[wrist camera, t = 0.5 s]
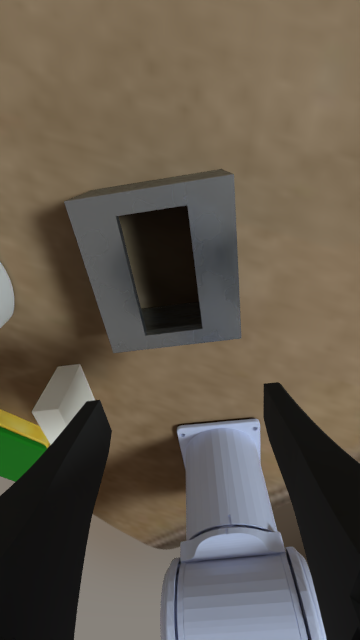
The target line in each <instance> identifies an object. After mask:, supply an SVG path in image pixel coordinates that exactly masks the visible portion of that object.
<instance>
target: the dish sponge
mask: <svg viewBox="0 0 360 640" xmlns="http://www.w3.org/2000/svg"><path fill="white" fill-rule="evenodd" d="M49 444H50V443H49V441H48V439H47V438H46V436H45V434H44V432H43V431H42V429H41V427H40V426H38V425H36V424H33V423H31V422H29V421H26V420H24V419H22V418H19V417H17V416H15V415H12V414H10V413H8V412H5V411H3V410H1V409H0V476H1V477H4V478H7V479H9V480H12V481H15V482H16V481H17V480H18V479H19V478H20V477H21V476H22V475H23V474H24V473H25V472H26V471H27V470H28V469H29V468H30V467H31V466H32V465H33V464H34V463H35V462H36V461H37V460H38V459H39V458H40V457H41V455H42V454H43V453H44V452H45V451H46V450H47V447H48V446H49Z"/></svg>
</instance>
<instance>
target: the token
mask: <svg viewBox="0 0 360 640" xmlns="http://www.w3.org/2000/svg"><path fill="white" fill-rule="evenodd" d="M94 400H95V399H94V397H93V394H92V392H91V389H90V387H89V384H88V382H87V379H86V377H85V375H84V372H83V370H82V367H81V365H80V364H76V365H67V366H58V367H57V369H56V370H55V372H54V374H53V376H52V377H51V379H50V381H49V382H48V384H47V386H46V388H45V389H44V391H43V393H42V395H41V396H40V398H39V400H38V401H37V403H36V405H35V407H34V408H33V410H32V414H33V415H34V417H35V419H36V420H37V422H38V424H39V426H40V427H41V429H42V431H43V432H44V434H45V436H46V438H47V439H48V441H49V443H50V444H52V443H53V442H54V441H55V439H56V438H57V437H58V436H59V435H60V433H61V432H62V431H63V430H64V429H65V427H66V426H67V425H68V424H69V422H70V421H71V420H72V419H73V417H74V416H75V415H76V414H77V412H78V411H79V410H80V409H81V408H82V406H83V405H84V404H85V403H86V402H87V401H94Z"/></svg>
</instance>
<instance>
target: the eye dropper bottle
mask: <svg viewBox="0 0 360 640" xmlns="http://www.w3.org/2000/svg"><path fill="white" fill-rule="evenodd" d="M13 311H14V292H13V287H12V284H11V281H10V278H9V276H8V274H7V272H6V270H5V268H4V267H3V265H2V263H1V262H0V328H1V327H2V326H3V325H4V324H5V323H6V322H7V321H8V320H9V319H10V318H11V316H12V315H13Z"/></svg>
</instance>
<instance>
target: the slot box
mask: <svg viewBox="0 0 360 640" xmlns="http://www.w3.org/2000/svg"><path fill="white" fill-rule="evenodd" d="M64 203H65V206H66V209H67V212H68V215H69V218H70V221H71V224H72V227H73V231H74V234H75V237H76V240H77V243H78V246H79V249H80V252H81V255H82V258H83V261H84V264H85V267H86V270H87V273H88V276H89V280H90V283H91V286H92V289H93V292H94V295H95V298H96V301H97V304H98V307H99V310H100V313H101V316H102V319H103V322H104V325H105V329H106V332H107V335H108V338H109V341H110V344H111V347H112V350H113V353H118V352H127V351H136V350H144V349H153V348H162V347H170V346H179V345H188V344H196V343H205V342H214V341H222V340H231V339H240V338H241V321H240V299H239V277H238V255H237V234H236V212H235V190H234V174H232V173H230V172H227V171H225V170H223V169H219V170H213V171H207V172H201V173H195V174H189V175H182V176H176V177H170V178H164V179H158V180H152V181H145V182H139V183H133V184H127V185H121V186H115V187H109V188H102V189H96V190H91V191H88V192H86V193H83V194H81V195H78V196H76V197H74V198H71V199H69V200H66V201H64ZM185 205H187V207H188V215H189V223H190V231H191V239H192V247H193V255H194V263H195V271H196V279H197V287H198V295H199V302H193V303H185V304H177V305H169V306H161V307H154V308H146V309H141V306H140V302H139V298H138V294H137V290H136V286H135V282H134V278H133V274H132V269H131V265H130V261H129V257H128V253H127V249H126V245H125V241H124V236H123V232H122V228H121V224H120V220H119V216H120V215H127V214H133V213H140V212H146V211H153V210H159V209H166V208H172V207H179V206H185Z"/></svg>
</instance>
